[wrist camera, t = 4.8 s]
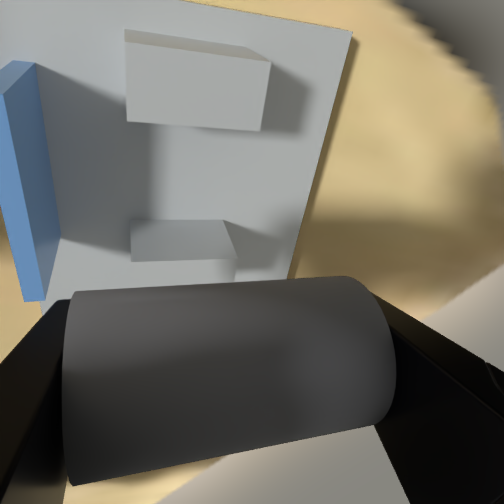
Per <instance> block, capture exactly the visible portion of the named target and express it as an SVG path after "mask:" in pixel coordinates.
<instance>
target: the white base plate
mask: <svg viewBox="0 0 504 504" xmlns="http://www.w3.org/2000/svg"><path fill="white" fill-rule="evenodd" d="M352 33H353V32H352V31H348V30H344V29H339V28H334V27H328V26H323V25H317V24H312V23H306V22H300V21H295V20H289V19H284V18H278V17H273V16H267V15H262V14H256V13H251V12H245V11H240V10H234V9H229V8H223V7H217V6H212V5H206V4H201V3H195V2H190V1H184V0H0V206H1V210H2V214H3V218H4V222H5V226H6V230H7V234H8V238H9V242H10V246H11V250H12V254H13V258H14V262H15V266H16V270H17V274H18V278H19V282H20V287H21V291H22V295H23V299H24V302H31V301H40V306H41V311H42V315H44V314H45V313H46V312H47V310H48V309H49V308H50V307H51V306H52V305H53V304H54V303H55V302H56V301H57V300H60V299H71V298H72V295H73V294H74V292H75V291H86V290H104V289H122V288H139V287H157V286H175V285H192V284H210V283H228V282H245V281H263V280H281V279H287V275H288V271H289V268H290V264H291V260H292V257H293V253H294V249H295V245H296V242H297V238H298V234H299V230H300V227H301V223H302V219H303V216H304V212H305V208H306V204H307V201H308V197H309V193H310V189H311V186H312V182H313V178H314V175H315V171H316V167H317V163H318V160H319V156H320V152H321V148H322V145H323V141H324V137H325V134H326V130H327V126H328V122H329V119H330V115H331V111H332V108H333V104H334V100H335V96H336V93H337V89H338V85H339V81H340V78H341V74H342V70H343V67H344V63H345V59H346V55H347V52H348V48H349V44H350V40H351V37H352Z"/></svg>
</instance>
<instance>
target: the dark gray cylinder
mask: <svg viewBox="0 0 504 504" xmlns="http://www.w3.org/2000/svg"><path fill="white" fill-rule="evenodd" d="M395 387H396V358H395V350H394V345H393V340H392V336H391V333H390V329H389V326H388V324H387V321H386V318H385V316H384V314H383V312H382V310H381V308H380V306H379V304H378V302H377V301H376V299H375V298H374V296H373V295H372V294H371V292H370V291H369V290H368V289H367V288H366V287H365V286H364V285H363V284H362V283H360V282H359V281H357V280H356V279H354V278H351V277H348V276H334V277H316V278H298V279H281V280H263V281H245V282H228V283H210V284H192V285H175V286H157V287H139V288H122V289H104V290H86V291H75V292H74V294H73V295H72V298H71V301H70V305H69V309H68V314H67V321H66V328H65V337H64V349H63V365H62V431H63V446H64V456H65V464H66V470H67V475H68V478H69V481H70V483H71V485H72V486H78V485H82V484H87V483H92V482H97V481H102V480H107V479H112V478H117V477H122V476H126V475H131V474H136V473H141V472H146V471H151V470H156V469H161V468H166V467H170V466H175V465H180V464H185V463H190V462H195V461H200V460H205V459H210V458H214V457H219V456H224V455H229V454H234V453H239V452H243V451H249V450H254V449H258V448H263V447H268V446H273V445H278V444H283V443H288V442H293V441H298V440H302V439H307V438H312V437H317V436H321V435H327V434H332V433H337V432H341V431H346V430H351V429H356V428H361V427H365V426H371V425H375V424H376V423H378V422H380V421H381V420H382V419H383V418H384V417H385V415H386V414H387V412H388V411H389V408H390V406H391V404H392V400H393V397H394V392H395Z"/></svg>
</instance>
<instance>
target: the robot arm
mask: <svg viewBox="0 0 504 504" xmlns="http://www.w3.org/2000/svg"><path fill="white" fill-rule="evenodd" d="M371 294H372V295H373V296H374V298H375V299H376V301H377V302H378V304H379V306H380V308H381V310H382V312H383V314H384V316H385V318H386V321H387V324H388V326H389V329H390V333H391V336H392V340H393V345H394V350H395V358H396V387H395V392H394V397H393V400H392V404H391V406H390V408H389V411H388V412H387V414H386V415H385V417H384V418H383V419H382V420H381V421H380V422H378V423H376V424H375V425H374V427H375V429H376V431H377V433H378V436H379V437H380V440H381V442H382V444H383V446H384V448H385V450H386V452H387V455H388V457H389V459H390V461H391V464H392V466H393V468H394V470H395V472H396V474H397V476H398V479H399V481H400V483H401V485H402V487H403V489H404V492H405V494H406V496H407V498H408V500H409V502H410V504H504V372H503V371H501V370H499V369H498V368H496V367H495V366H493V365H491V364H490V363H487V362H486V363H485V361H484V360H483V359H481V358H480V357H478V356H476V355H475V354H473V353H471V352H470V351H468V350H466V349H465V348H463V347H461V346H460V345H458V344H456V343H455V342H453V341H451V340H450V339H448V338H446V337H445V336H443V335H441V334H440V333H438V332H436V331H435V330H433V329H431V328H430V327H428V326H426V325H425V324H423V323H421V322H420V321H418V320H416V319H415V318H413V317H411V316H410V315H408V314H406V313H405V312H403V311H401V310H400V309H398V308H396V307H395V306H393V305H391V304H390V303H388V302H386V301H385V300H383V299H381V298H380V297H378V296H376V295H375V294H373V293H371ZM70 301H71V299H60V300H57V301H56V302H55V303H54V304H53V305H52V306H51V307H50V308H49V309H48V310H47V312H46V313H45V314H44V315H43V316H42V317H41V318H40V320H39V321H38V322H37V323H36V324H35V325H34V326H33V327H32V329H31V330H30V331H29V332H28V333H27V334H26V335H25V336H24V338H23V339H22V340H21V341H20V342H19V343H18V344H17V345H16V347H15V348H14V349H13V350H12V351H11V352H10V353H9V354H8V356H7V357H6V358H5V359H4V360H3V361H2V362H1V363H0V504H63V499H64V493H65V488H66V482H67V477H68V475H67V470H66V464H65V456H64V446H63V431H62V365H63V349H64V337H65V328H66V321H67V314H68V309H69V305H70Z"/></svg>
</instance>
